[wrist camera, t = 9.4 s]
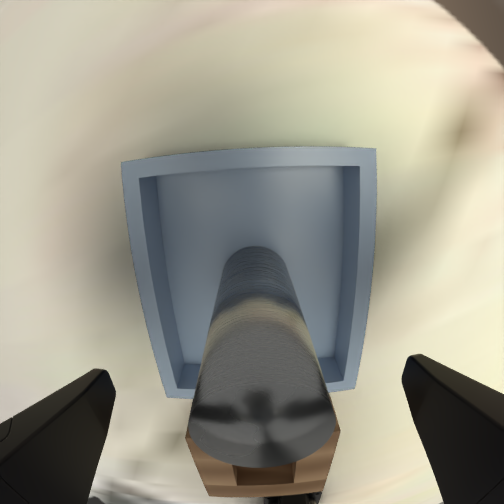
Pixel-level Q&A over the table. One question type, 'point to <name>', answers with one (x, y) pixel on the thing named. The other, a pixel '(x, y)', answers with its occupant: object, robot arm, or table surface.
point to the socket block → (265, 473)
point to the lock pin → (259, 370)
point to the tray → (253, 234)
